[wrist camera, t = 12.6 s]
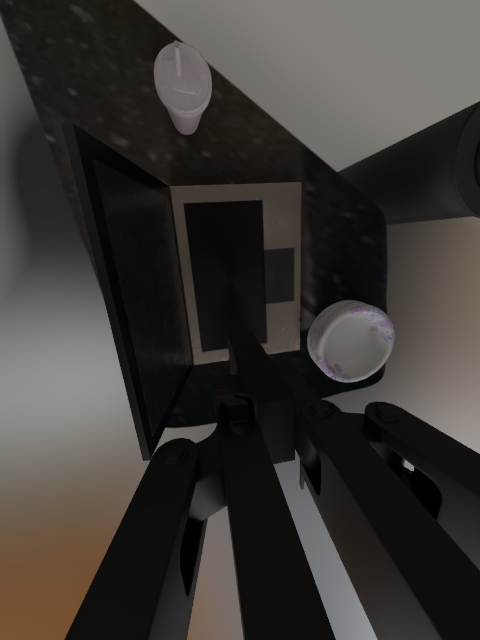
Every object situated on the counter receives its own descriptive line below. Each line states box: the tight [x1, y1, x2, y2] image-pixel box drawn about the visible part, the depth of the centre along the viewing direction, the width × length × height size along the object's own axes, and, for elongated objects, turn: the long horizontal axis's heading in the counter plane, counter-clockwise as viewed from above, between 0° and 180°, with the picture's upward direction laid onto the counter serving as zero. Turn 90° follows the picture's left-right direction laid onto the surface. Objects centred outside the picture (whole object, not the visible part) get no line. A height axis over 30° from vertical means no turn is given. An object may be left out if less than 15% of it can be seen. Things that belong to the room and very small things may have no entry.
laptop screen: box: [62, 123, 194, 461], centre depth 31 cm, size 21×30×1 cm
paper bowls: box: [307, 300, 395, 382], centre depth 48 cm, size 15×15×8 cm
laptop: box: [170, 182, 301, 365], centre depth 44 cm, size 21×30×2 cm
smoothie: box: [154, 41, 212, 135], centre depth 30 cm, size 6×6×14 cm
